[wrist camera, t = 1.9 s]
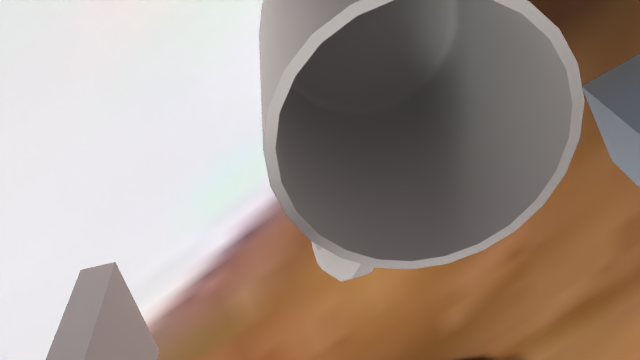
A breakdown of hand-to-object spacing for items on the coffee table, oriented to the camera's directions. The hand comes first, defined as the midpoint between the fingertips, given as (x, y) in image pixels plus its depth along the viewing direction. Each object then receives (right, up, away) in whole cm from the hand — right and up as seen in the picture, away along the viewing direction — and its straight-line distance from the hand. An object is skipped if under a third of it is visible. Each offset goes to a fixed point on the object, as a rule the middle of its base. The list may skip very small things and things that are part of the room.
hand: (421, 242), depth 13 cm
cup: (-1, +6, +9) cm, 10 cm away
